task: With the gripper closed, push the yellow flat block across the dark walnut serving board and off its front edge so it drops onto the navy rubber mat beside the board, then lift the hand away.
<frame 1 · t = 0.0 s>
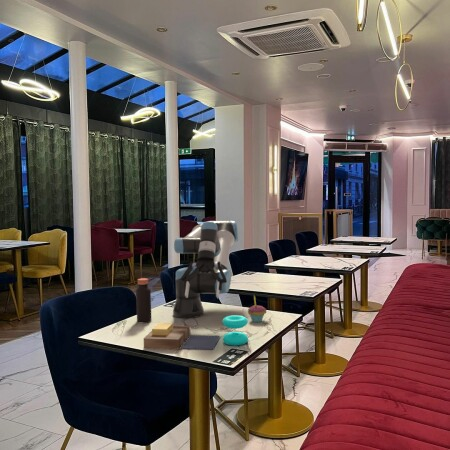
hand: (201, 296, 197), 15 cm above the table, tool tilted 35°, fingers open, 13 cm apart
mat: (201, 342, 184), on the table
donuts: (235, 343, 183), on the table
cupcake: (257, 321, 214), on the table
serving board: (167, 341, 186), on the table
yellow flat block: (162, 331, 186), point 4 cm above the table, touching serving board
bottle: (144, 321, 218), on the table
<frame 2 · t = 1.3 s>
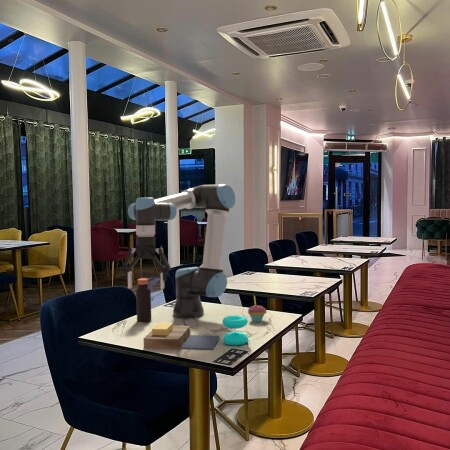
hand: (146, 288, 186), 22 cm above the table, tool pointing down, fingers open, 13 cm apart
nothing on the table moved.
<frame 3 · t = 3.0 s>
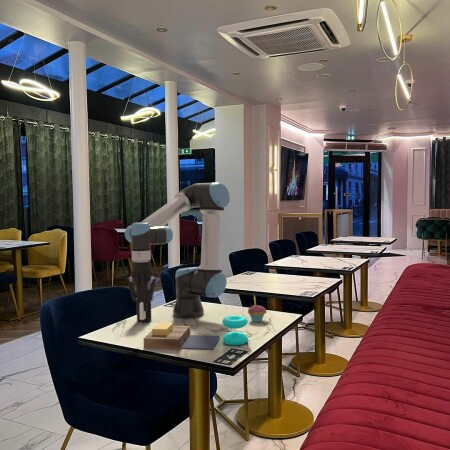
hand: (142, 318, 187), 9 cm above the table, tool pointing down, fingers closed
nothing on the table moved.
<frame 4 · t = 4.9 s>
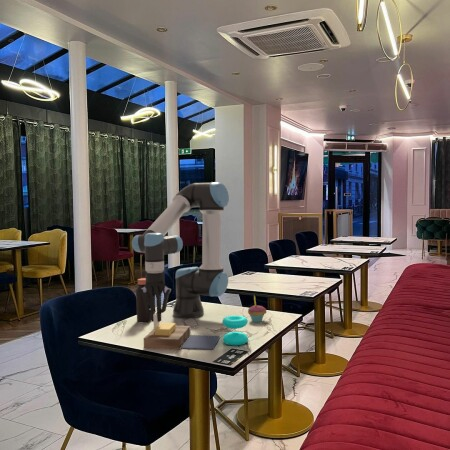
hand: (156, 329, 186), 5 cm above the table, tool pointing down, fingers closed
yellow flat block: (165, 331, 186), point 4 cm above the table, touching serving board
everything else where it was.
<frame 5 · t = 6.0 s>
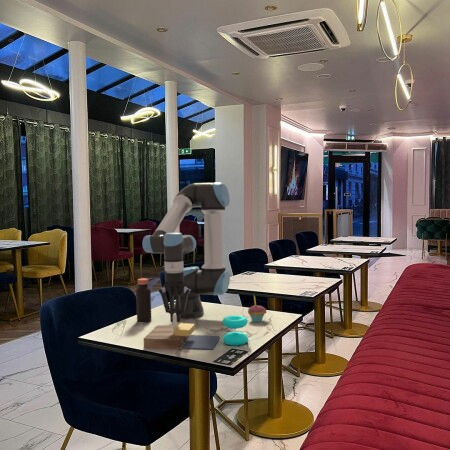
hand: (175, 329, 185), 5 cm above the table, tool pointing down, fingers closed
yellow flat block: (184, 332, 184), point 4 cm above the table, touching gripper
everything else where it was.
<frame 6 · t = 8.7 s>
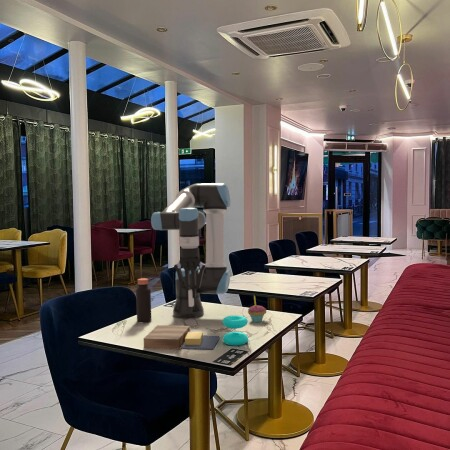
hand: (191, 305, 184), 15 cm above the table, tool pointing down, fingers closed
yellow flat block: (194, 341, 184), resting on mat
everything else where it was.
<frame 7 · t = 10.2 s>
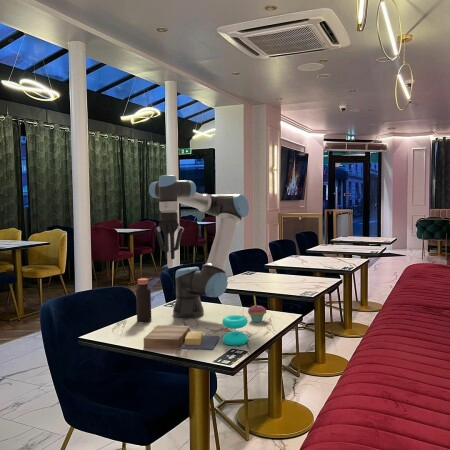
hand: (170, 266, 197), 28 cm above the table, tool pointing down, fingers closed
nothing on the table moved.
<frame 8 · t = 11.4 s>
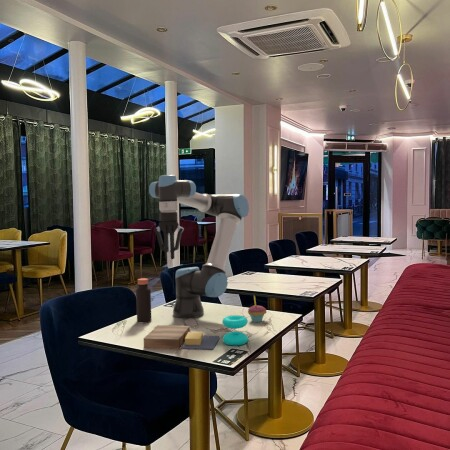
hand: (170, 266, 197), 28 cm above the table, tool pointing down, fingers closed
nothing on the table moved.
at the end: yellow flat block inside the target area (3.2 cm from its centre), point 0.5 cm above the table; yellow flat block touching mat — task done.
